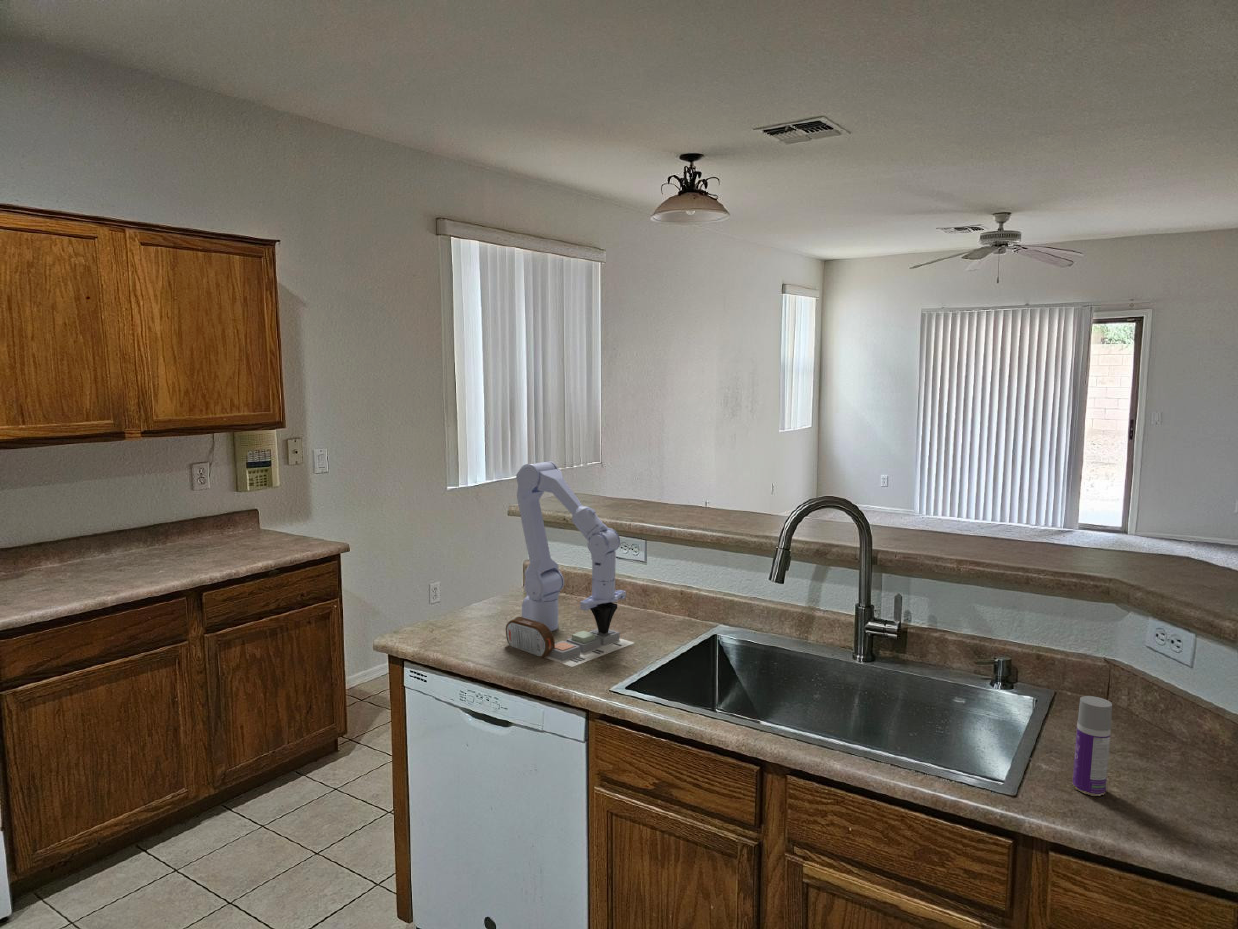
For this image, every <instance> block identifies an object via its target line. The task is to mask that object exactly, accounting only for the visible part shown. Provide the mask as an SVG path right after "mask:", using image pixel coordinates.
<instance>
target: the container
mask: <svg viewBox="0 0 1238 929" xmlns="http://www.w3.org/2000/svg"><path fill="white" fill-rule="evenodd" d="M1112 714H1113V703H1112V702H1111V701H1109V700H1108V699H1105V698H1102V697H1098V696H1092V695H1085V696H1081V697H1080V698H1079V708H1078V715H1077V716H1078V717H1077V724H1076V735H1075V746H1074V760H1073V770H1072V771H1073V772H1072V782H1073V785H1075V787H1077V788H1078V789H1079V790H1081V791H1086V792H1089V793H1092V794H1093V793H1094V794H1101V793H1104V792H1105V791H1106V790H1107V778H1108V769H1109V757H1110V746H1111V731H1112V718H1113V716H1112ZM1105 793H1106V792H1105Z"/></svg>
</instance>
